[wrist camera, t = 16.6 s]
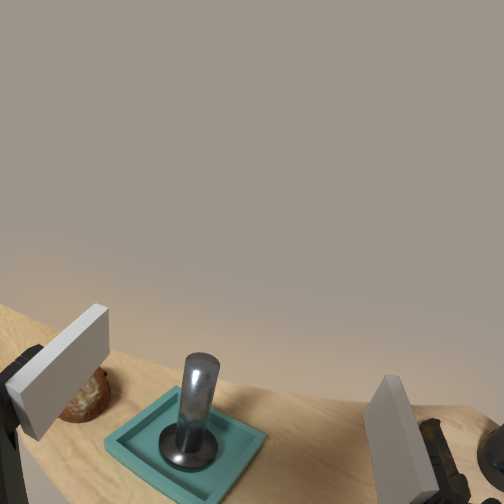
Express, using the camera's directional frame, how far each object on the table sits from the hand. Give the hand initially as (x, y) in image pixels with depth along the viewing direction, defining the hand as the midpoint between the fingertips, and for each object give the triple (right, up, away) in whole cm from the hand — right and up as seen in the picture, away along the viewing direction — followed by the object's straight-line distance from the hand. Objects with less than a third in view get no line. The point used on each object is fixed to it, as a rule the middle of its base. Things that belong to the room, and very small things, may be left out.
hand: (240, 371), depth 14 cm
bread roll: (-23, -14, +22) cm, 35 cm away
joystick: (-7, -18, +19) cm, 27 cm away
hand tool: (+28, -28, +19) cm, 44 cm away
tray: (-7, -19, +19) cm, 28 cm away
